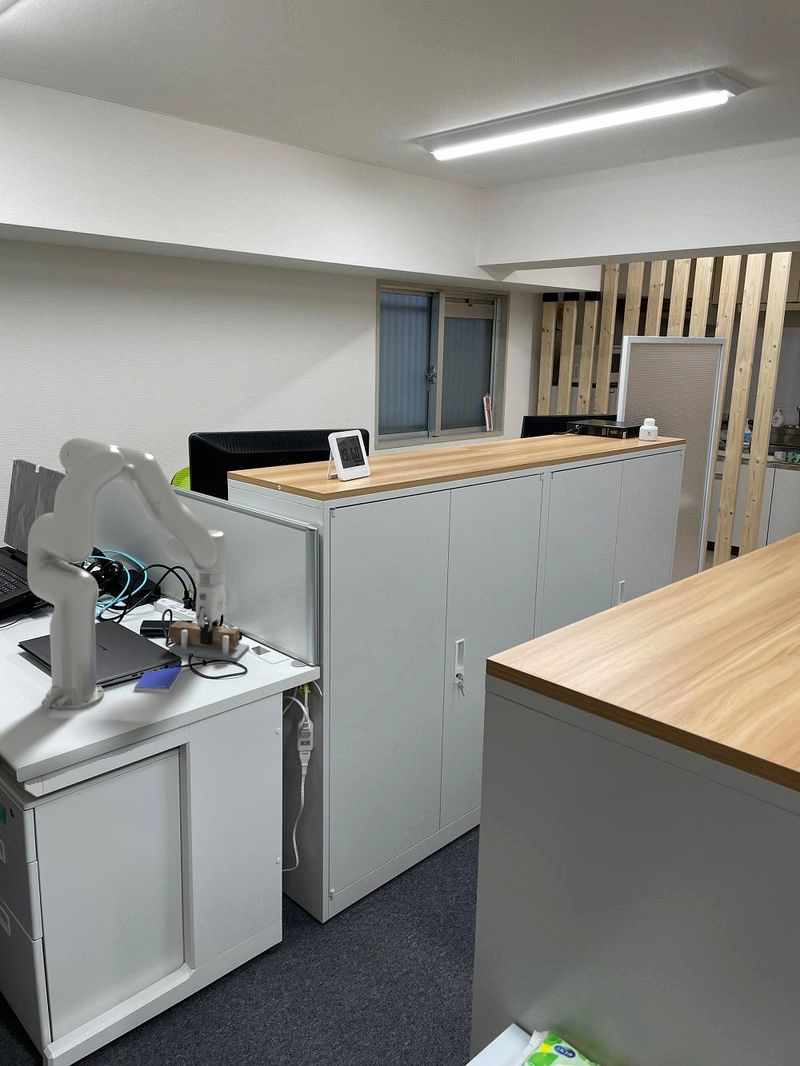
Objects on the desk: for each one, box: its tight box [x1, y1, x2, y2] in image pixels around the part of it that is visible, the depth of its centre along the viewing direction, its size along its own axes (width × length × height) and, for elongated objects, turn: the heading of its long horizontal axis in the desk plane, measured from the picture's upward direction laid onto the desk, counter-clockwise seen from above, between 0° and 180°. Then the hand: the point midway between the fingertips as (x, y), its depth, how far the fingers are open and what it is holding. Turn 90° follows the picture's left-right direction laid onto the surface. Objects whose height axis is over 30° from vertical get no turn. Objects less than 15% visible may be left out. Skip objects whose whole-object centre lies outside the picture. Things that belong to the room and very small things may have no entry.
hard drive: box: [133, 666, 183, 694], centre depth 195 cm, size 2×8×12 cm
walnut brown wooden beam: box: [169, 620, 240, 649], centre depth 214 cm, size 18×4×4 cm, turn 80°
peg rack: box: [168, 620, 250, 663], centre depth 214 cm, size 19×9×6 cm, turn 80°
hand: (209, 640), depth 214 cm, fingers closed on walnut brown wooden beam, 3 cm apart
